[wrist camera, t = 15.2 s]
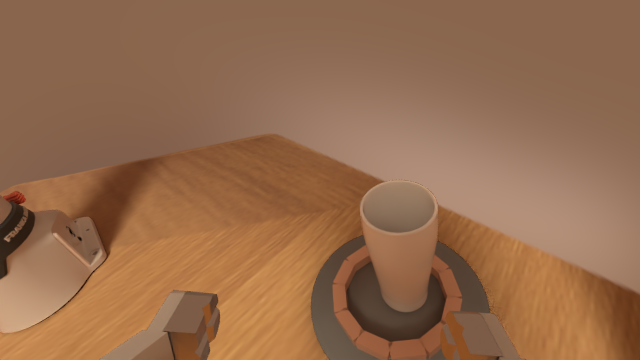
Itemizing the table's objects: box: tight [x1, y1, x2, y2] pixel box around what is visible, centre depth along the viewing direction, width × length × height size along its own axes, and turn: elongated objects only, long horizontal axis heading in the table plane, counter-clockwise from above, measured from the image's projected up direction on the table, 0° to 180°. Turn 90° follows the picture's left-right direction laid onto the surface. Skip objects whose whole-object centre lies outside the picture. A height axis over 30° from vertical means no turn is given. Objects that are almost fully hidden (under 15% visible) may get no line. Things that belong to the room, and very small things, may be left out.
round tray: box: [311, 235, 490, 360], centre depth 36 cm, size 20×20×2 cm
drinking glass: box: [360, 180, 438, 312], centre depth 31 cm, size 7×7×15 cm
